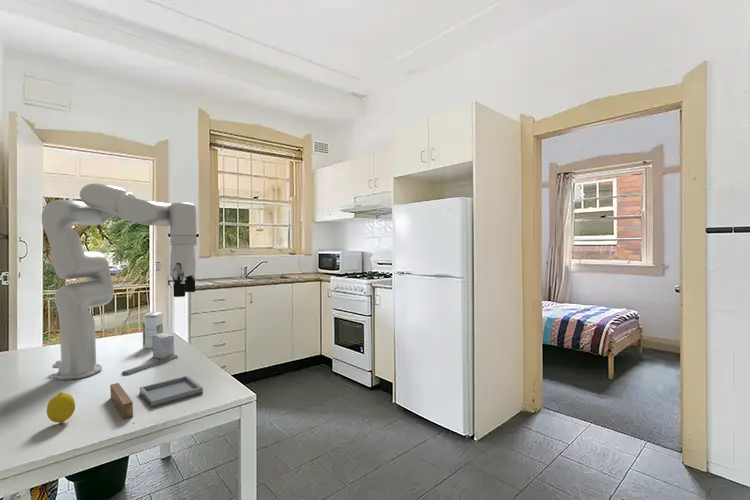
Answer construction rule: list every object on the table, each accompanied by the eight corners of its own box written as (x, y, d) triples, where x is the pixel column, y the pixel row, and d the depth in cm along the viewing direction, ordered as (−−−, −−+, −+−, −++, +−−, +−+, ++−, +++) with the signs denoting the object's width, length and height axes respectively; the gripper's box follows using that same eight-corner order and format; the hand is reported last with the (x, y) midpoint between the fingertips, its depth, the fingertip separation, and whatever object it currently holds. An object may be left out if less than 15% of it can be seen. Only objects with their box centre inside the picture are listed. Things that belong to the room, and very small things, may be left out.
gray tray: (151, 407, 103) (151, 401, 103) (139, 393, 113) (139, 387, 113) (202, 393, 113) (202, 387, 113) (187, 380, 122) (187, 375, 122)
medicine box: (174, 356, 147) (174, 335, 147) (163, 360, 143) (162, 337, 143) (163, 353, 151) (163, 332, 151) (152, 356, 147) (151, 335, 147)
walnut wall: (124, 419, 97) (123, 404, 97) (110, 398, 110) (110, 384, 109) (133, 416, 98) (132, 401, 98) (118, 396, 111) (118, 382, 111)
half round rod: (179, 359, 145) (179, 355, 145) (128, 377, 127) (128, 372, 127) (171, 358, 147) (171, 353, 147) (120, 375, 129) (120, 370, 129)
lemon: (59, 429, 92) (58, 398, 91) (41, 427, 93) (40, 396, 92) (81, 419, 97) (80, 388, 97) (64, 417, 98) (62, 387, 98)
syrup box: (149, 344, 164) (148, 312, 163) (163, 344, 164) (163, 311, 164) (142, 348, 158) (141, 314, 157) (157, 348, 158) (156, 314, 158)
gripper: (180, 241, 128) (182, 290, 128) (159, 241, 111) (161, 299, 111) (204, 240, 129) (205, 290, 129) (186, 241, 112) (188, 298, 112)
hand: (184, 294), depth 120 cm, fingers open, 9 cm apart
